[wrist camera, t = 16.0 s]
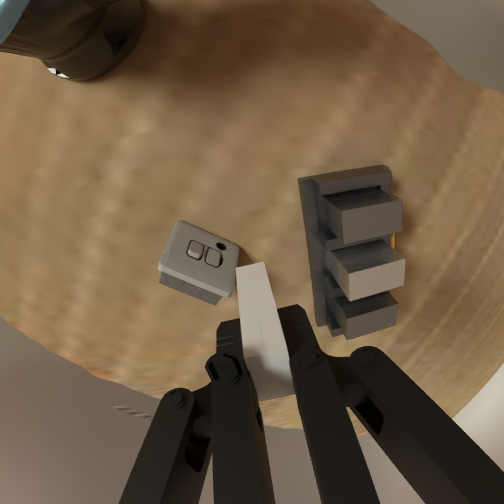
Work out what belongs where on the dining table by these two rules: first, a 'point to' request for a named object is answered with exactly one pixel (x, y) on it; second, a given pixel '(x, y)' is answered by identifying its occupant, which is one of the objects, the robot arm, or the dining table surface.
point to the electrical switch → (199, 263)
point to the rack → (348, 242)
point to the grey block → (366, 268)
